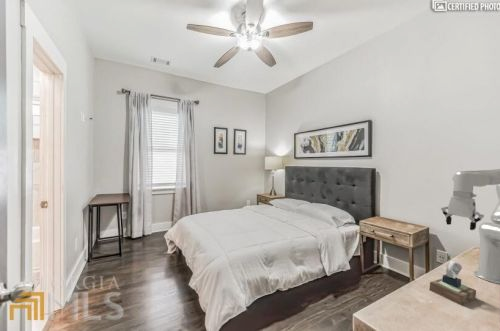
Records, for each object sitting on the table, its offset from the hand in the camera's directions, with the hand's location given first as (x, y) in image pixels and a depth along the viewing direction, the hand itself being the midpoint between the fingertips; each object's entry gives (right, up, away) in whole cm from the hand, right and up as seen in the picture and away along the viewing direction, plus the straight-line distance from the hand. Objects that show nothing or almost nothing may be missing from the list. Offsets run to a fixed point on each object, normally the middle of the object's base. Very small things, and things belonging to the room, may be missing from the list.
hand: (460, 226), depth 117 cm
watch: (-13, -25, -10) cm, 30 cm away
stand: (-14, -30, -11) cm, 35 cm away
